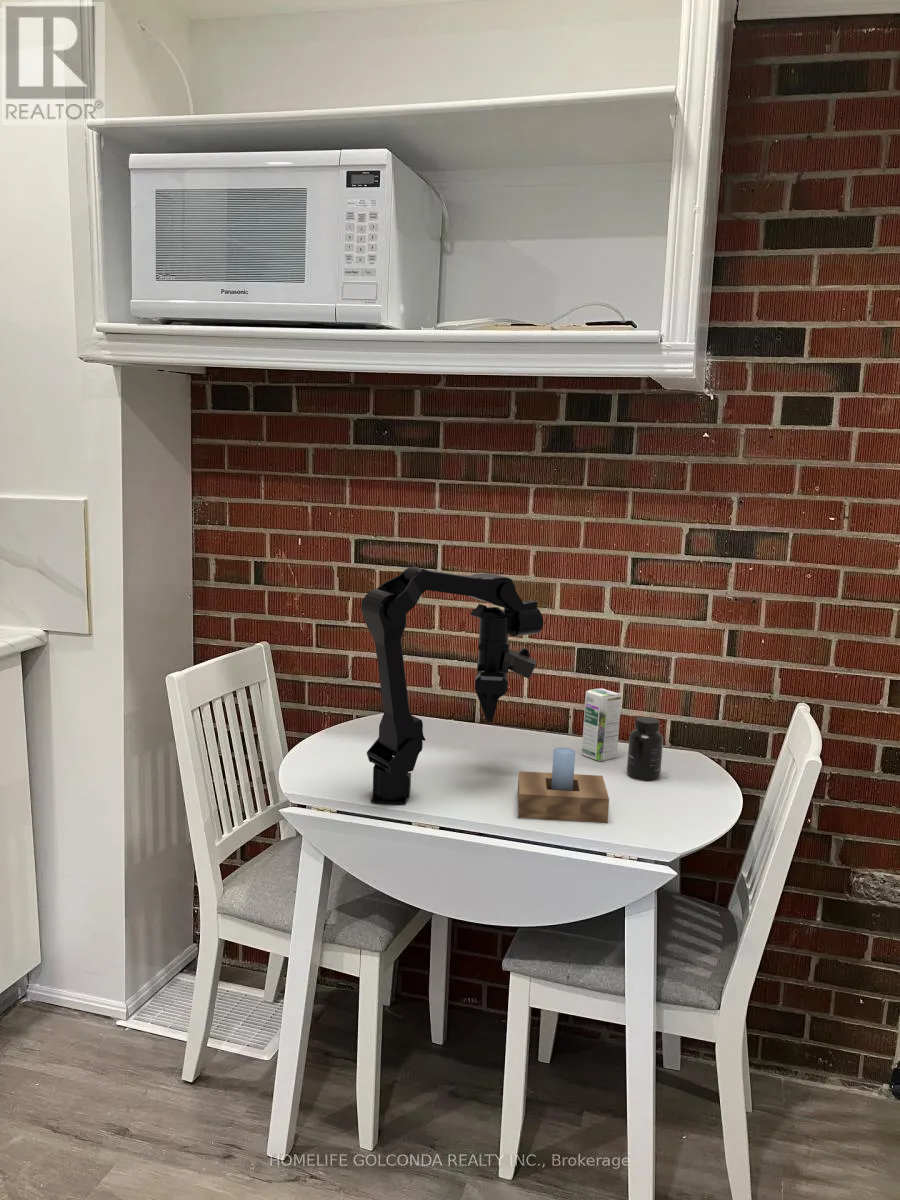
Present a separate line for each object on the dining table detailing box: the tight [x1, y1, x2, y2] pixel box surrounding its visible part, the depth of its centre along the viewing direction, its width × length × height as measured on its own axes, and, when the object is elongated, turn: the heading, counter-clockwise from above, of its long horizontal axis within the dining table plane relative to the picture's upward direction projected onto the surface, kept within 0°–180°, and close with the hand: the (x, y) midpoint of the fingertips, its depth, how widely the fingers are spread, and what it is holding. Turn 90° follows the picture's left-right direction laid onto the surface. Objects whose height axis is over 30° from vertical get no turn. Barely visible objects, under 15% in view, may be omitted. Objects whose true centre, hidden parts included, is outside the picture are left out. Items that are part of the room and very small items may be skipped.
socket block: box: [517, 770, 610, 824], centre depth 176 cm, size 16×12×4 cm
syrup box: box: [581, 688, 623, 763], centre depth 205 cm, size 6×6×14 cm
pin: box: [551, 747, 576, 791], centre depth 176 cm, size 4×4×10 cm
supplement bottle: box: [626, 716, 664, 782], centre depth 194 cm, size 7×7×12 cm
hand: (490, 715), depth 189 cm, fingers open, 9 cm apart
